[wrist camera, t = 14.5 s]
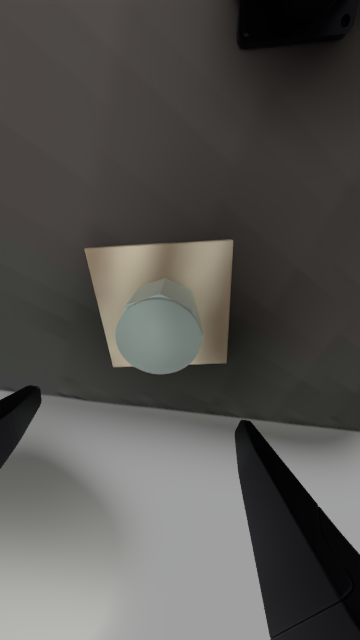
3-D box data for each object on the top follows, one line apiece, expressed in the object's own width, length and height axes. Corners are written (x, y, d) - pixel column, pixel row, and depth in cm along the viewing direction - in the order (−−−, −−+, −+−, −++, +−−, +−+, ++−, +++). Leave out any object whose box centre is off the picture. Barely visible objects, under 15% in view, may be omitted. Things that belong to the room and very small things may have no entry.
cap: (179, 349, 20) (178, 384, 16) (122, 325, 19) (104, 356, 15) (208, 298, 18) (217, 323, 14) (146, 268, 17) (132, 284, 12)
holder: (230, 239, 17) (239, 242, 14) (224, 356, 22) (230, 376, 19) (90, 246, 17) (71, 251, 15) (116, 360, 23) (106, 380, 20)
